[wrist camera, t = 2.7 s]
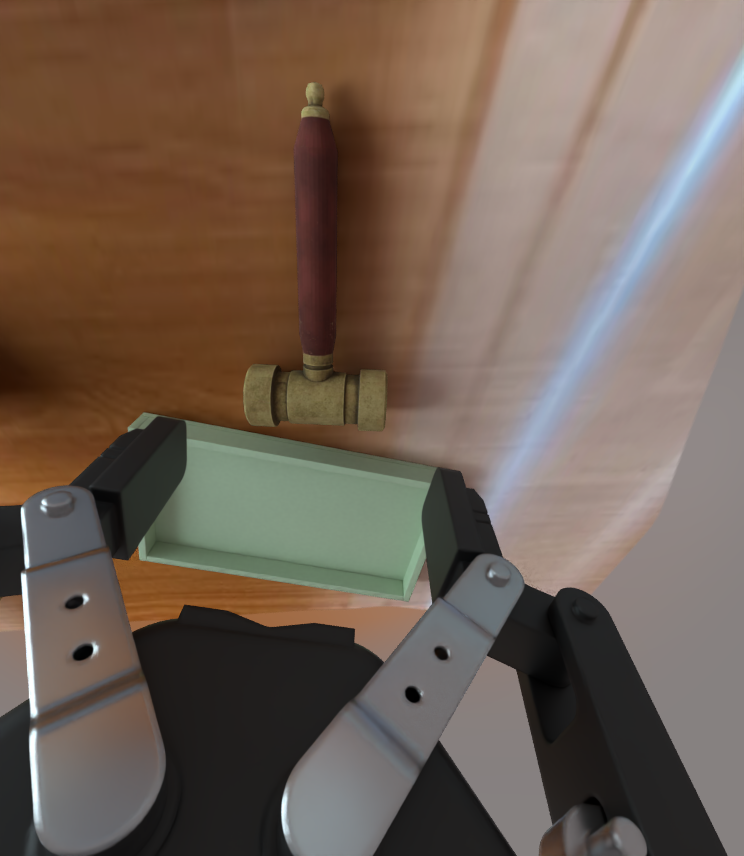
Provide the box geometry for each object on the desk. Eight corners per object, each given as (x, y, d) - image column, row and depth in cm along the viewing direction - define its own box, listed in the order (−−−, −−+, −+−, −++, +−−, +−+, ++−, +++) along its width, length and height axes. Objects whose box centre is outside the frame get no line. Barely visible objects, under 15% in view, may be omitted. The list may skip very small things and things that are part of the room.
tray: (152, 540, 42) (139, 560, 40) (143, 411, 34) (127, 427, 32) (407, 581, 44) (408, 602, 42) (449, 469, 37) (454, 487, 35)
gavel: (208, 62, 21) (408, 73, 21) (236, 89, 25) (403, 98, 25) (245, 436, 30) (384, 442, 30) (261, 410, 34) (383, 416, 34)
